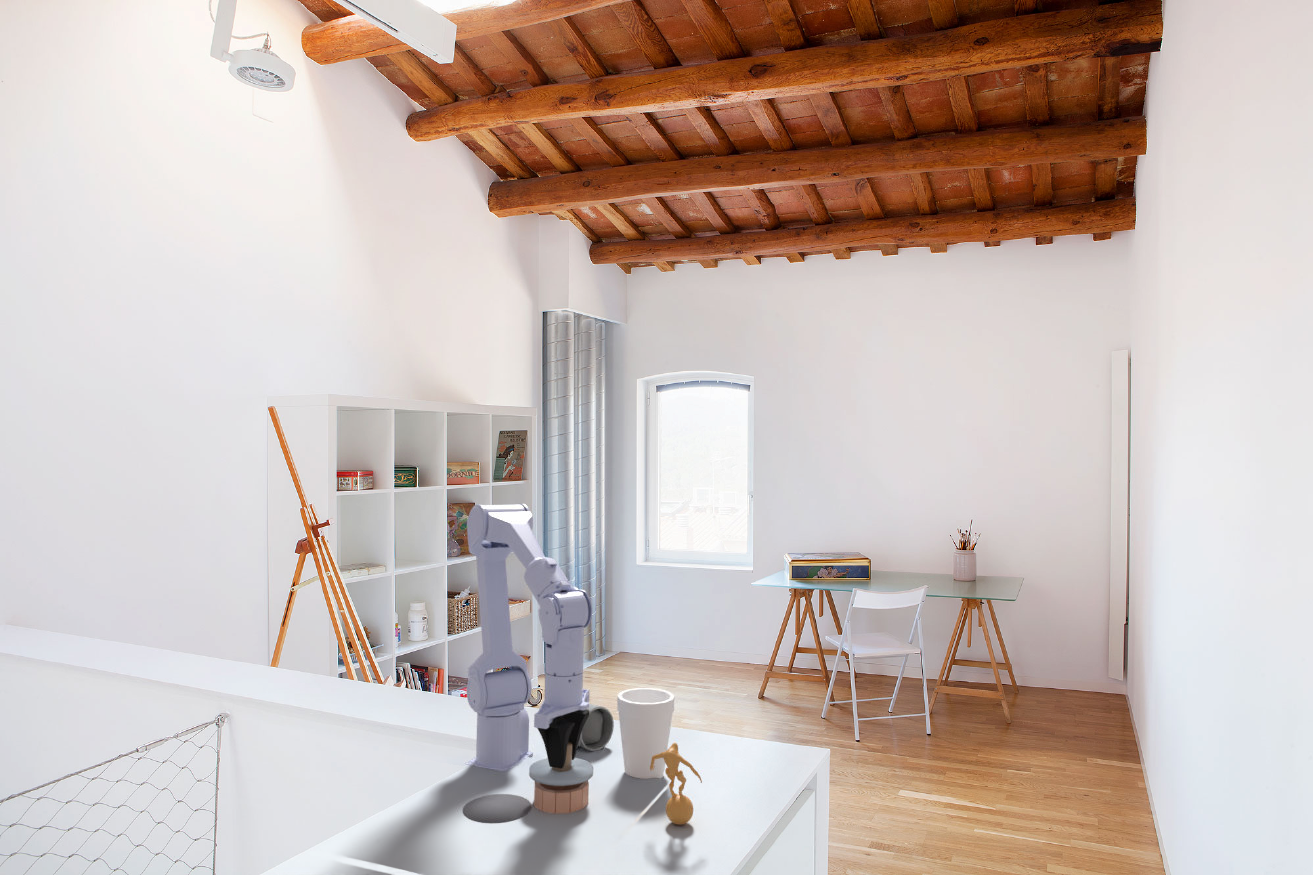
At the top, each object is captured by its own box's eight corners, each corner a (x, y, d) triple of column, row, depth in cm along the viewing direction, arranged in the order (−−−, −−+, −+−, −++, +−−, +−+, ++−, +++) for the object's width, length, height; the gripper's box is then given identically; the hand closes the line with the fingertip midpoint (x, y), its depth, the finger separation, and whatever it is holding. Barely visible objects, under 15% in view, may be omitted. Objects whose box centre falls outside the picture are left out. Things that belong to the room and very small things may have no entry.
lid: (546, 758, 128) (547, 731, 129) (602, 767, 126) (603, 738, 126) (517, 779, 119) (518, 750, 120) (578, 789, 116) (579, 758, 117)
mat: (486, 793, 126) (486, 789, 126) (543, 804, 123) (543, 800, 123) (448, 819, 117) (448, 815, 117) (509, 832, 113) (509, 827, 113)
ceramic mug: (587, 734, 155) (587, 693, 155) (614, 745, 149) (614, 703, 149) (540, 747, 147) (540, 705, 148) (567, 760, 141) (567, 715, 141)
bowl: (549, 791, 127) (550, 768, 128) (596, 799, 125) (596, 776, 125) (524, 811, 120) (524, 787, 120) (573, 820, 117) (573, 796, 117)
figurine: (711, 825, 117) (712, 740, 117) (692, 841, 112) (693, 753, 112) (660, 811, 121) (662, 730, 121) (640, 827, 116) (641, 741, 116)
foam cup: (639, 760, 142) (640, 684, 142) (683, 772, 136) (684, 694, 137) (604, 776, 134) (606, 697, 134) (650, 790, 128) (651, 707, 129)
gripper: (566, 686, 115) (564, 784, 114) (607, 663, 128) (605, 750, 128) (522, 681, 117) (520, 776, 117) (567, 659, 131) (565, 744, 130)
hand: (562, 762), depth 123 cm, fingers closed on lid, 3 cm apart
